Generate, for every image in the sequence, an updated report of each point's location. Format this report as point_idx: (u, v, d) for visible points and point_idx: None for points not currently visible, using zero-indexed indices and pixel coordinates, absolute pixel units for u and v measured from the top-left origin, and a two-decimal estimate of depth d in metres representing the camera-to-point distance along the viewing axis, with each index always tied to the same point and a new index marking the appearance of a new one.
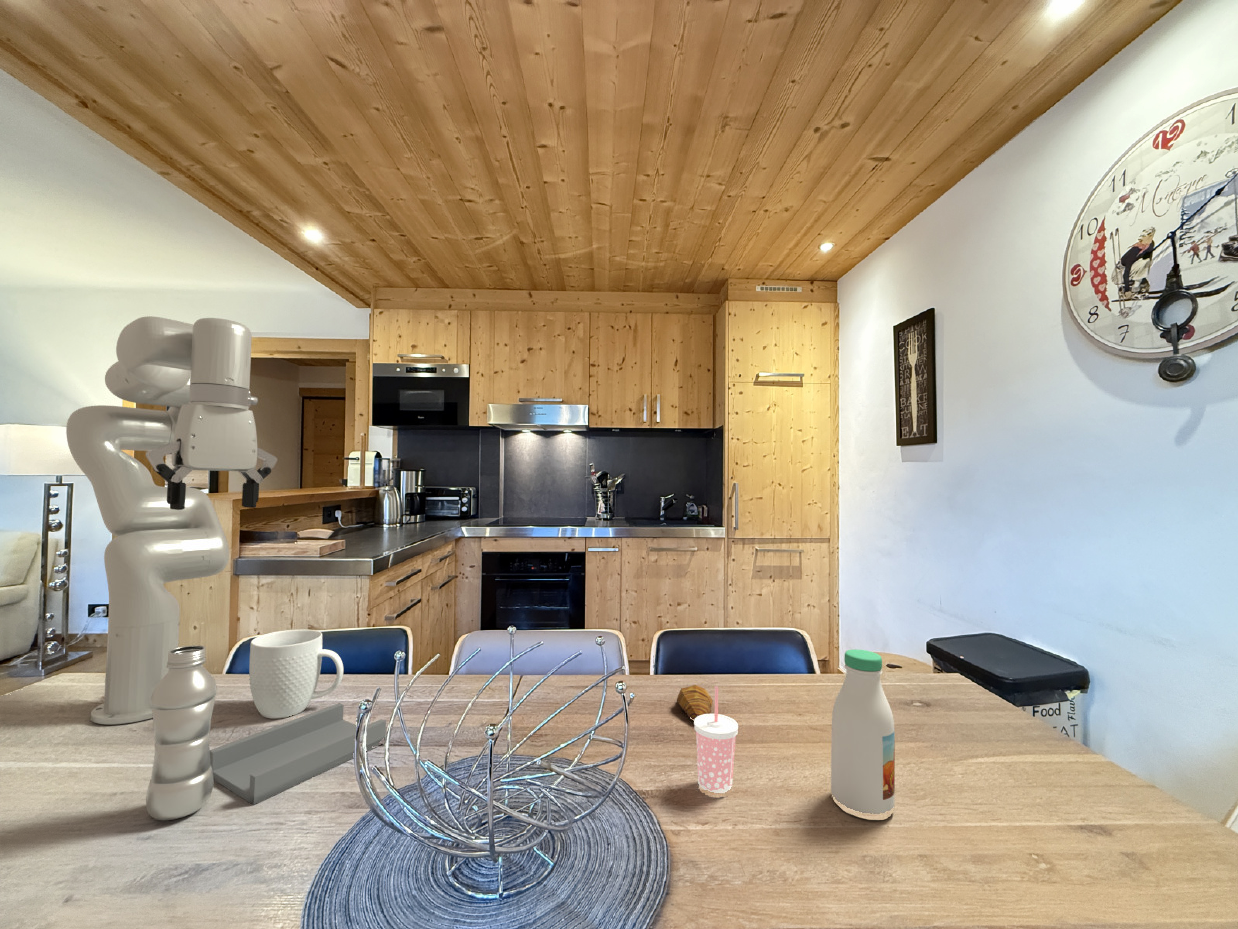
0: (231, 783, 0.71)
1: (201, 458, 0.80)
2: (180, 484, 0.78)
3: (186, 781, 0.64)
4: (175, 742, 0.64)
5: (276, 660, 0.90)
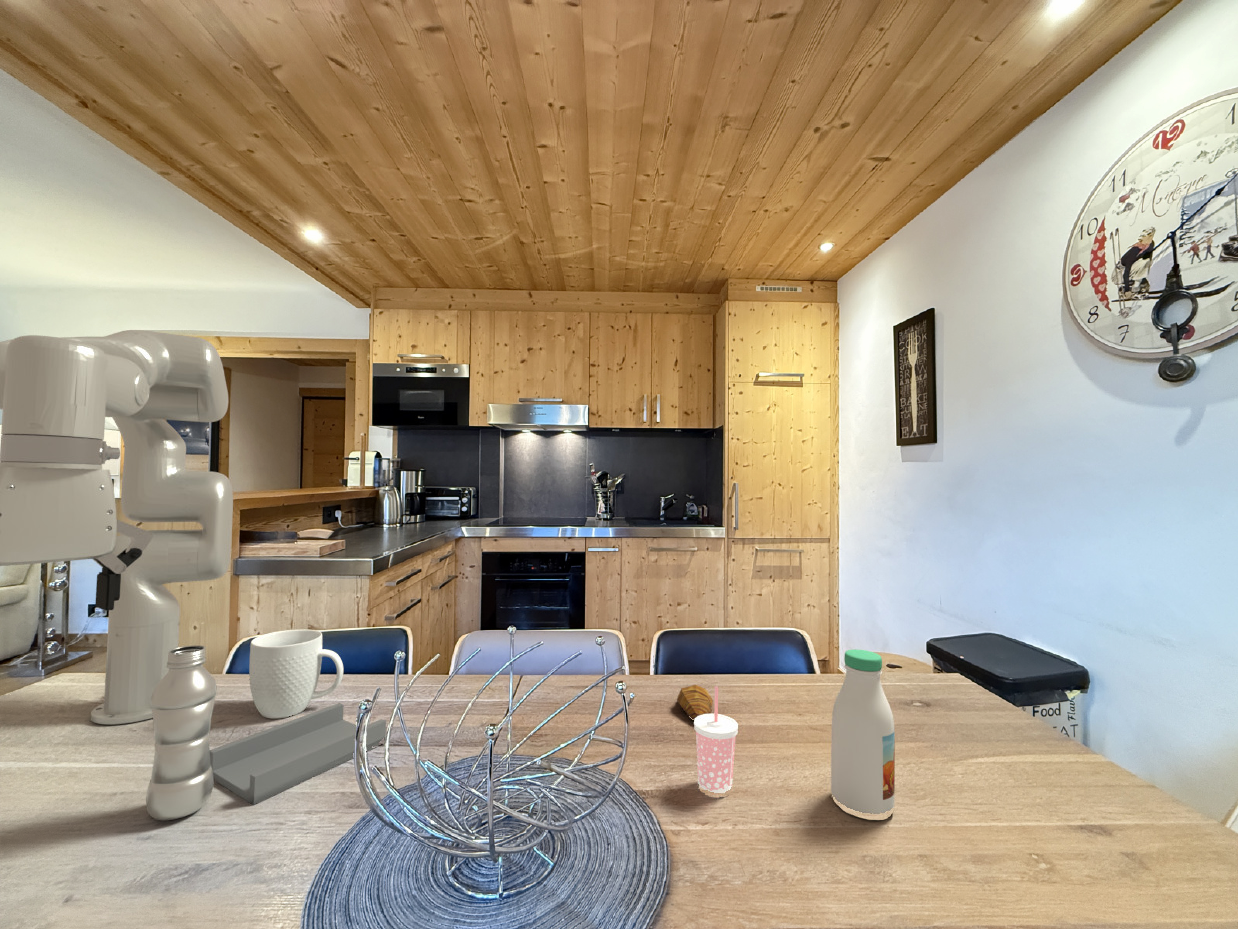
0: (231, 783, 0.71)
1: (13, 547, 0.53)
2: None
3: (186, 781, 0.64)
4: (175, 742, 0.64)
5: (276, 660, 0.90)
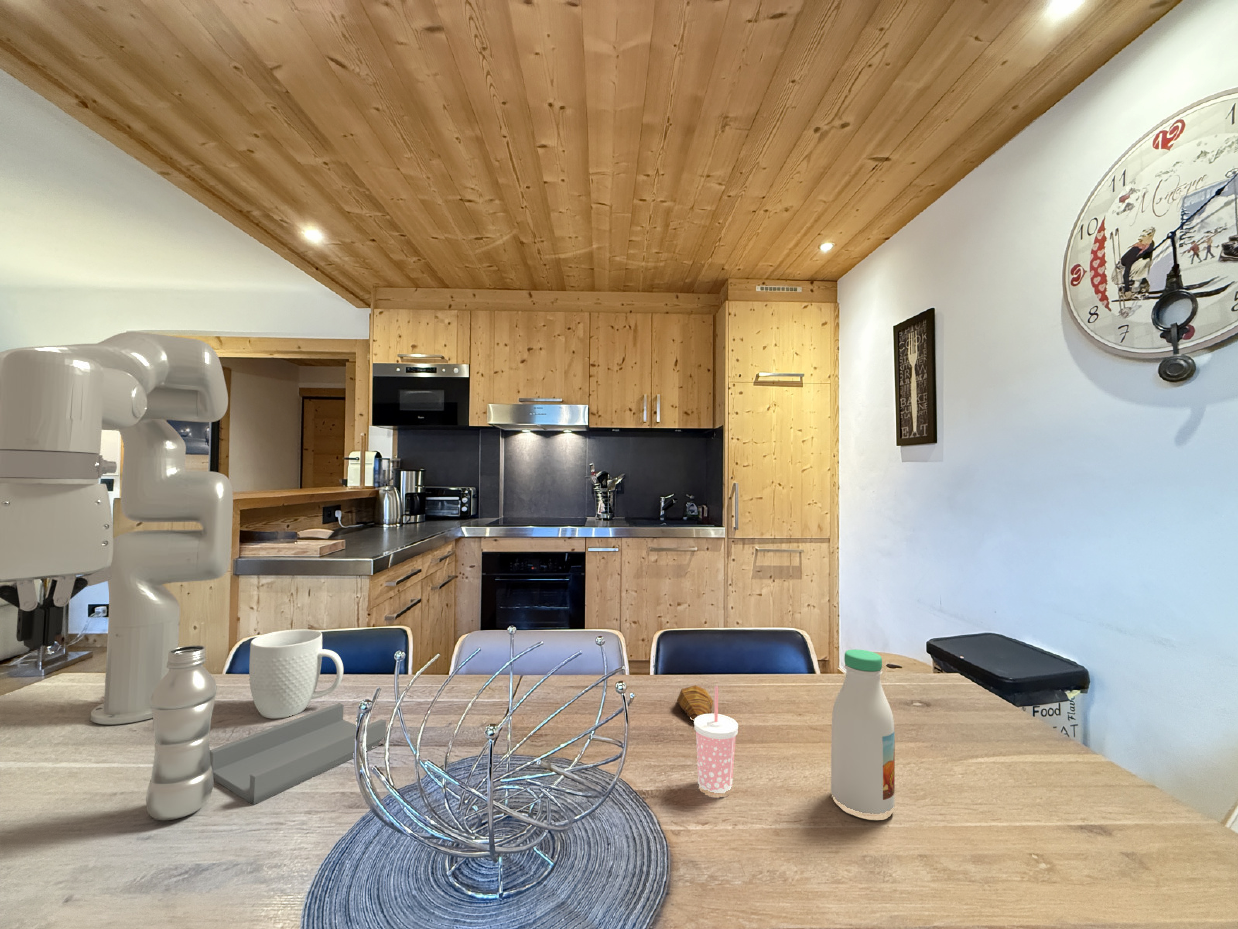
0: (231, 783, 0.71)
1: (8, 564, 0.52)
2: (35, 612, 0.54)
3: (186, 781, 0.64)
4: (175, 742, 0.64)
5: (276, 660, 0.90)
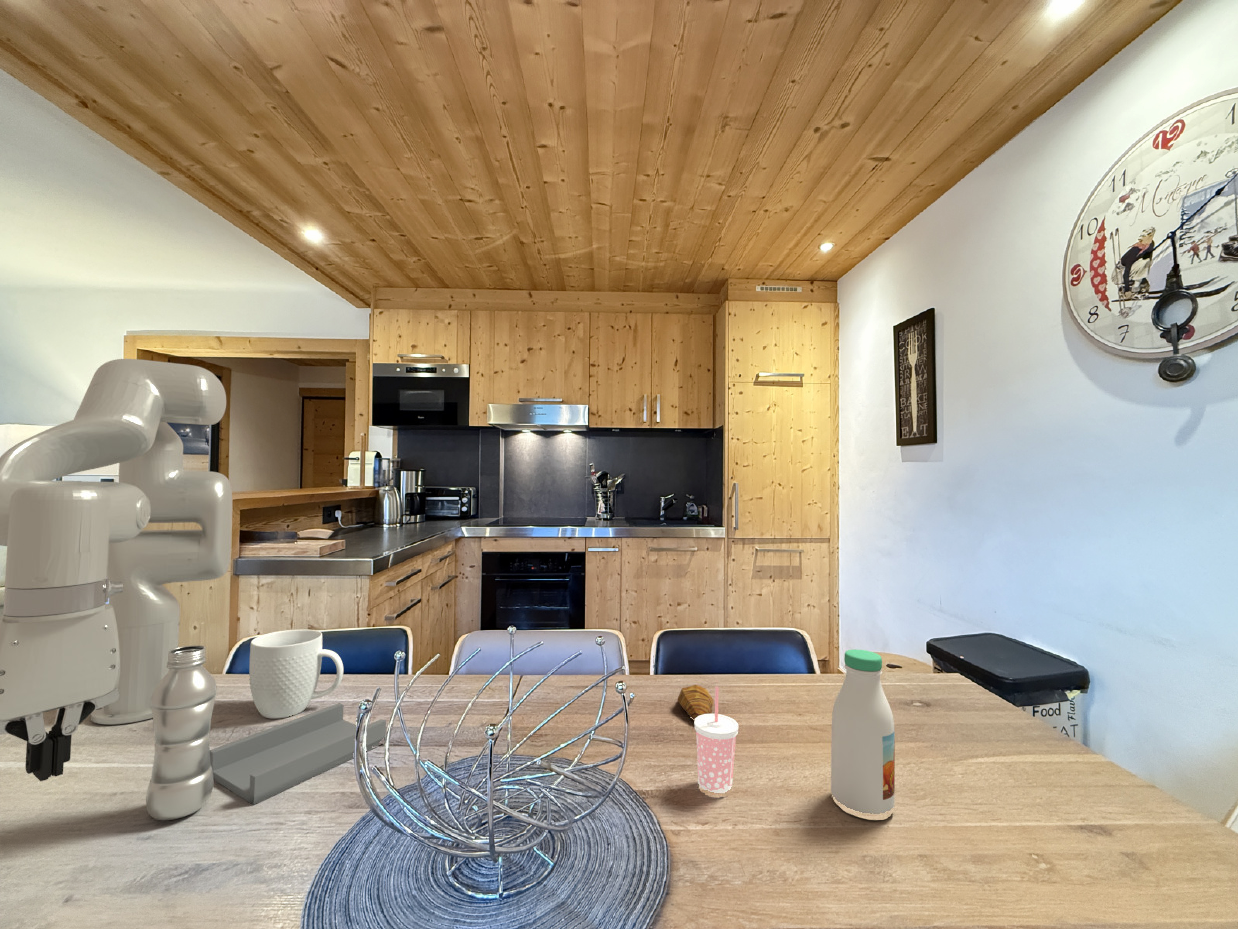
0: (231, 783, 0.71)
1: (17, 702, 0.53)
2: (43, 745, 0.55)
3: (186, 781, 0.64)
4: (175, 742, 0.64)
5: (276, 660, 0.90)
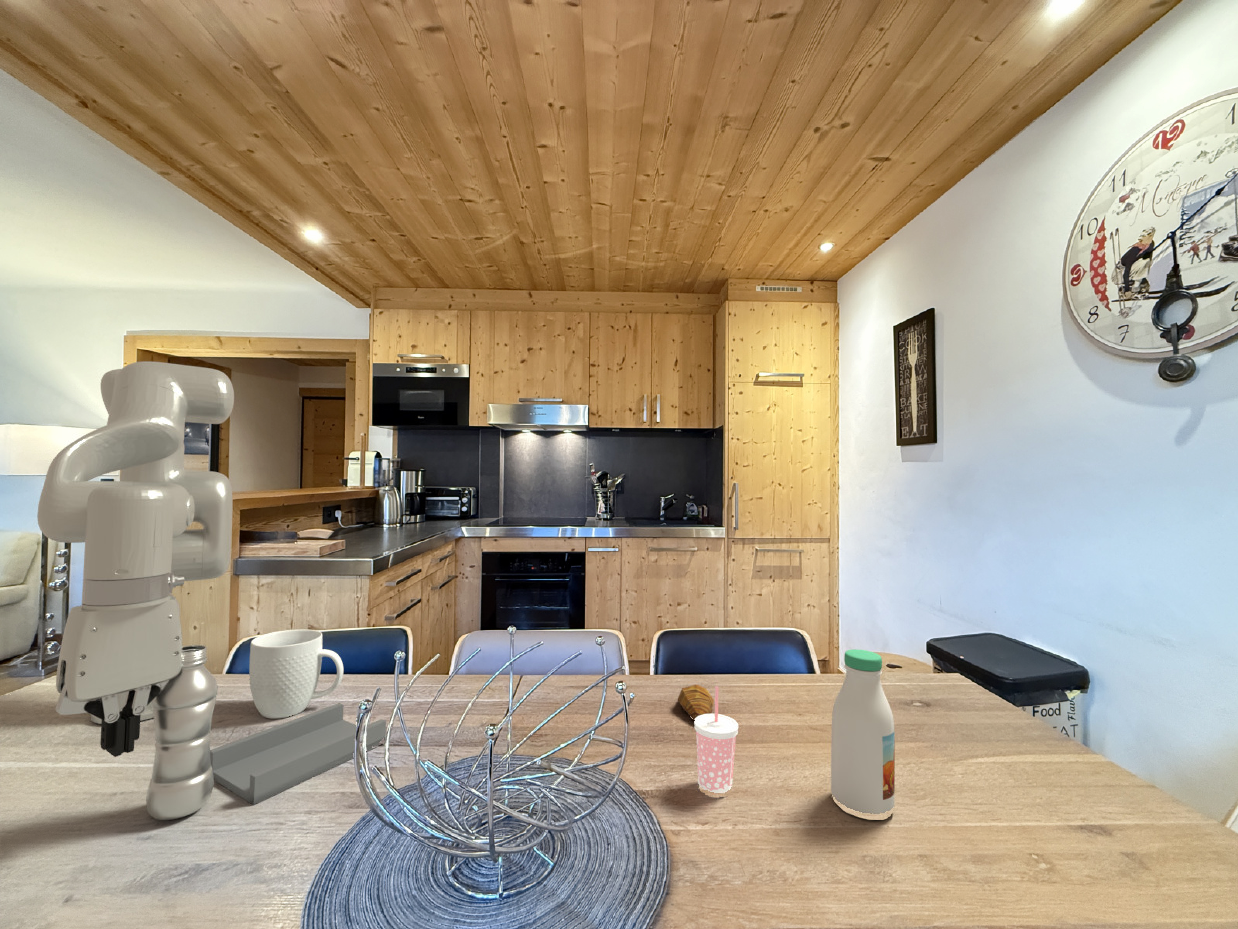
0: (231, 783, 0.71)
1: (96, 684, 0.58)
2: (117, 724, 0.60)
3: (186, 781, 0.64)
4: (176, 742, 0.64)
5: (276, 660, 0.90)
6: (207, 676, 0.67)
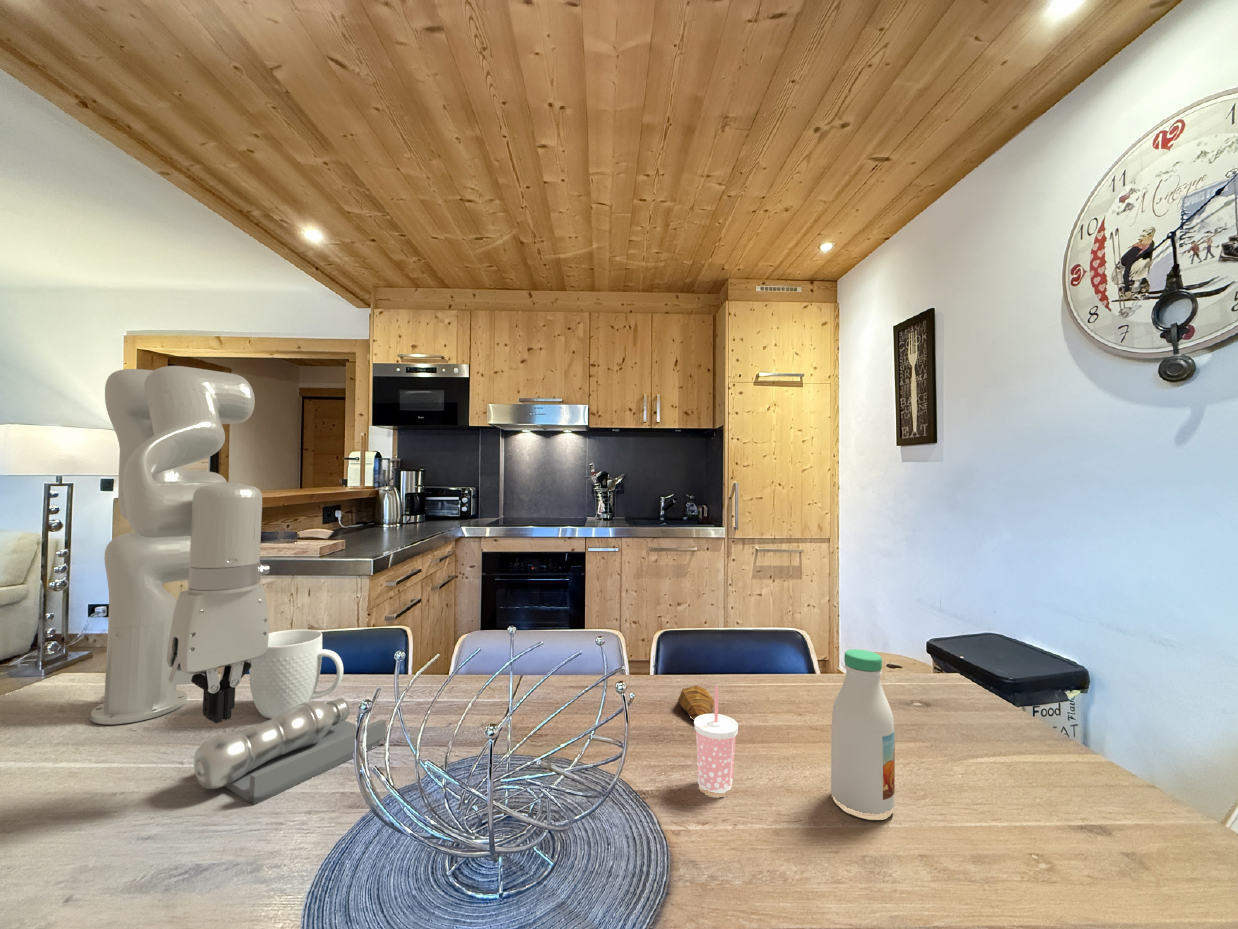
0: (231, 783, 0.71)
1: (202, 658, 0.66)
2: (218, 694, 0.68)
3: (248, 746, 0.72)
4: (282, 723, 0.77)
5: (276, 660, 0.90)
6: (330, 725, 0.82)
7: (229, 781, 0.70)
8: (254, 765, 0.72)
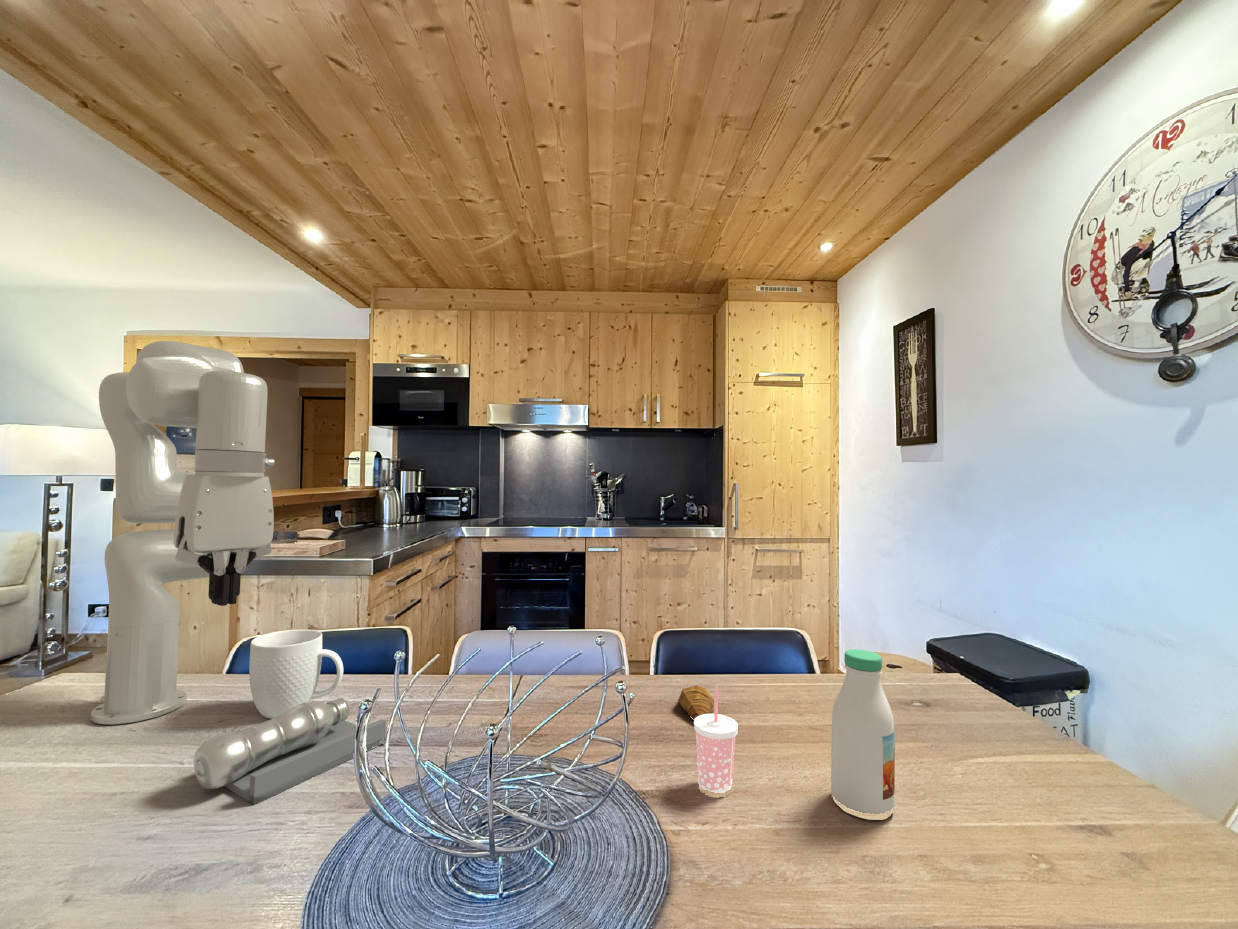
0: (231, 783, 0.71)
1: (208, 538, 0.67)
2: (224, 577, 0.69)
3: (248, 746, 0.72)
4: (282, 723, 0.77)
5: (276, 660, 0.90)
6: (330, 725, 0.82)
7: (229, 781, 0.70)
8: (254, 765, 0.72)
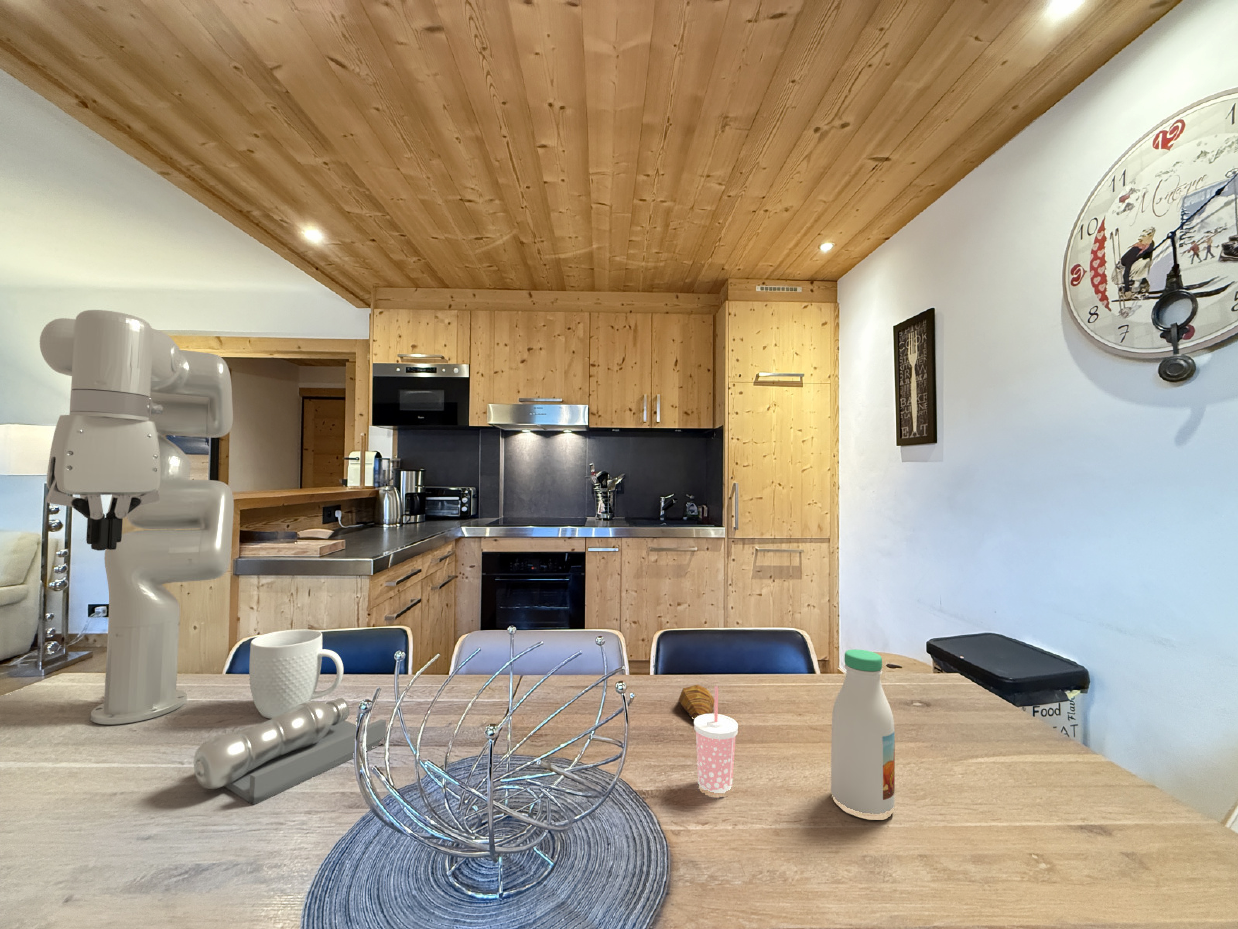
0: (231, 783, 0.71)
1: (82, 480, 0.66)
2: (101, 521, 0.68)
3: (248, 746, 0.72)
4: (282, 723, 0.77)
5: (276, 660, 0.90)
6: (330, 725, 0.82)
7: (229, 781, 0.70)
8: (254, 765, 0.72)
